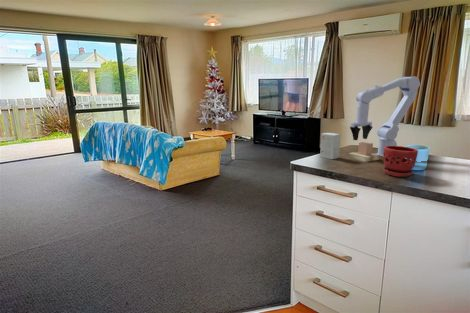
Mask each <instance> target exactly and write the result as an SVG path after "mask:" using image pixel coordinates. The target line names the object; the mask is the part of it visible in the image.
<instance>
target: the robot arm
mask: <svg viewBox="0 0 470 313" xmlns="http://www.w3.org/2000/svg"><path fill="white" fill-rule="evenodd" d="M420 86H421V82H420V79H419V77H418V76H401V77H398V78H396V79H394V80H392V81H389V82H388V83H386V84H384V85H382V86H381V85H373V87H371V88H369V89H368V88H367V89H365V91H360V92H359V93H358V94H357V95H356V96H355V99H356V102H357V107H356V110H357V111H356V120H355V122H352V123H350V126H349V129H350V131H351V134H352V138H353V139H352V140H353V141H358V139H359V136H360V131H361V130H362V139H363V140H367V139H368V137H369V134H370V132H371V130H372V129H373V125H372V124H373V121H369V110H370V103H371V102H372V100H374V99H378V98H379V97H382V96H383V95H384V93H385V92H388V91H391V90H393V89H396V88H399V89H400V91H401V92H402V94H403V97H402V98H401V100H400V102H398V105H397V106H396V108H395V109H394V111H393V113H392V114H391V116H390V118H388V121H386V122H384V123H383V124H382V125H381V126H380V127H379V128H378V129H377V132H376V134H377V136H378V147H377V152H376V153H374V154H378V155H380V157H383V154H384V147H385V146H398V144H397V141H396V138H397V136H398V132H399V131H400V128H399V125H400V123H401V121H402V120H403V118H404V117H405V115H406V113H407V112H408V110H409V108H410V107H411V105H412V104H413V102H414V101H415V100H416V97H417V95H418V89H419V88H420Z"/></svg>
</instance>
